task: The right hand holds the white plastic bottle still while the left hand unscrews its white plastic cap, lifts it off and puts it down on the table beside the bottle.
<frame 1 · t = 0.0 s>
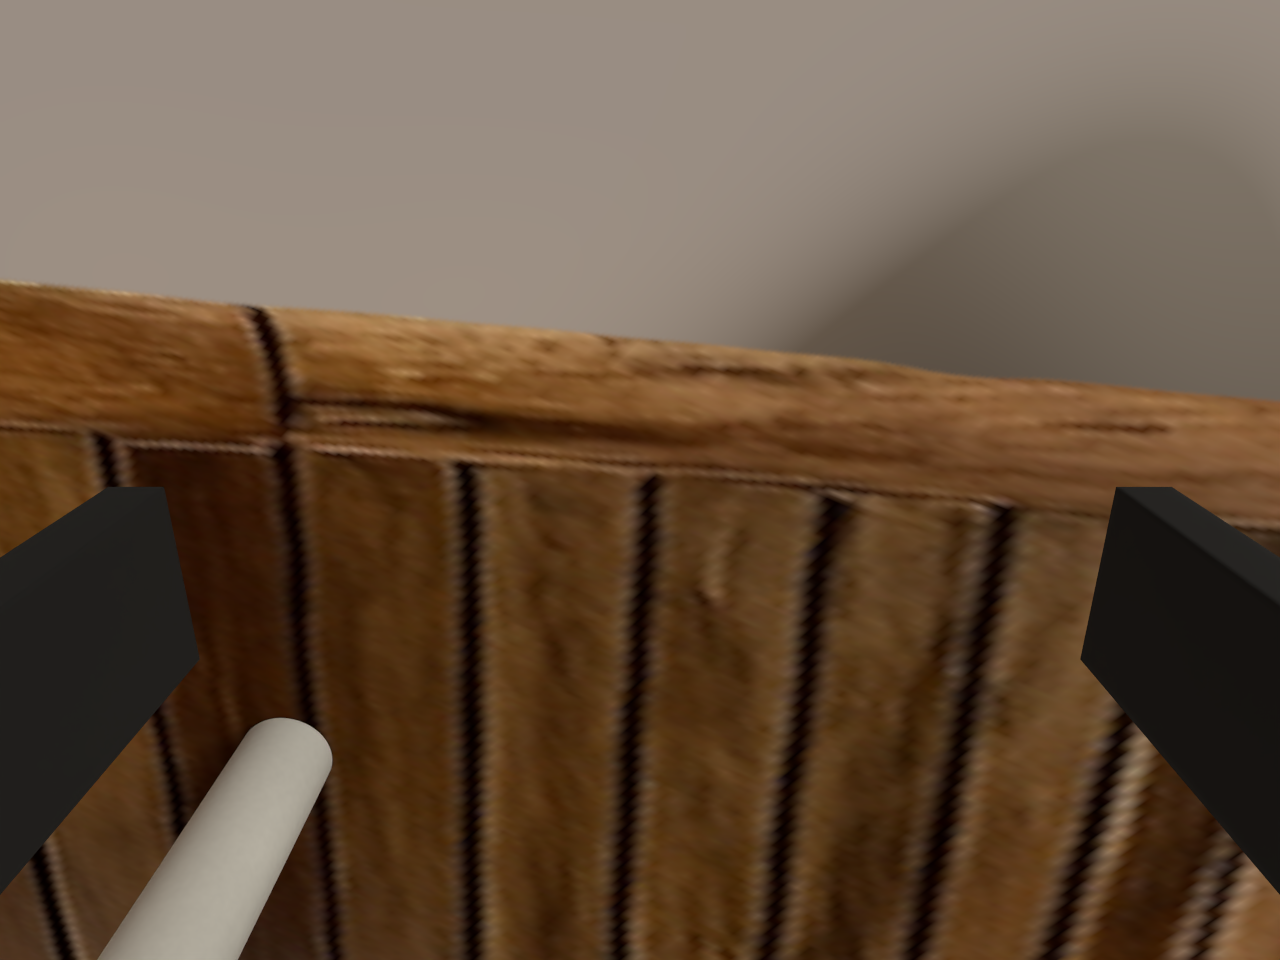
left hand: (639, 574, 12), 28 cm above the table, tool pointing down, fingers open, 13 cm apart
bottle: (287, 754, 48), on the table
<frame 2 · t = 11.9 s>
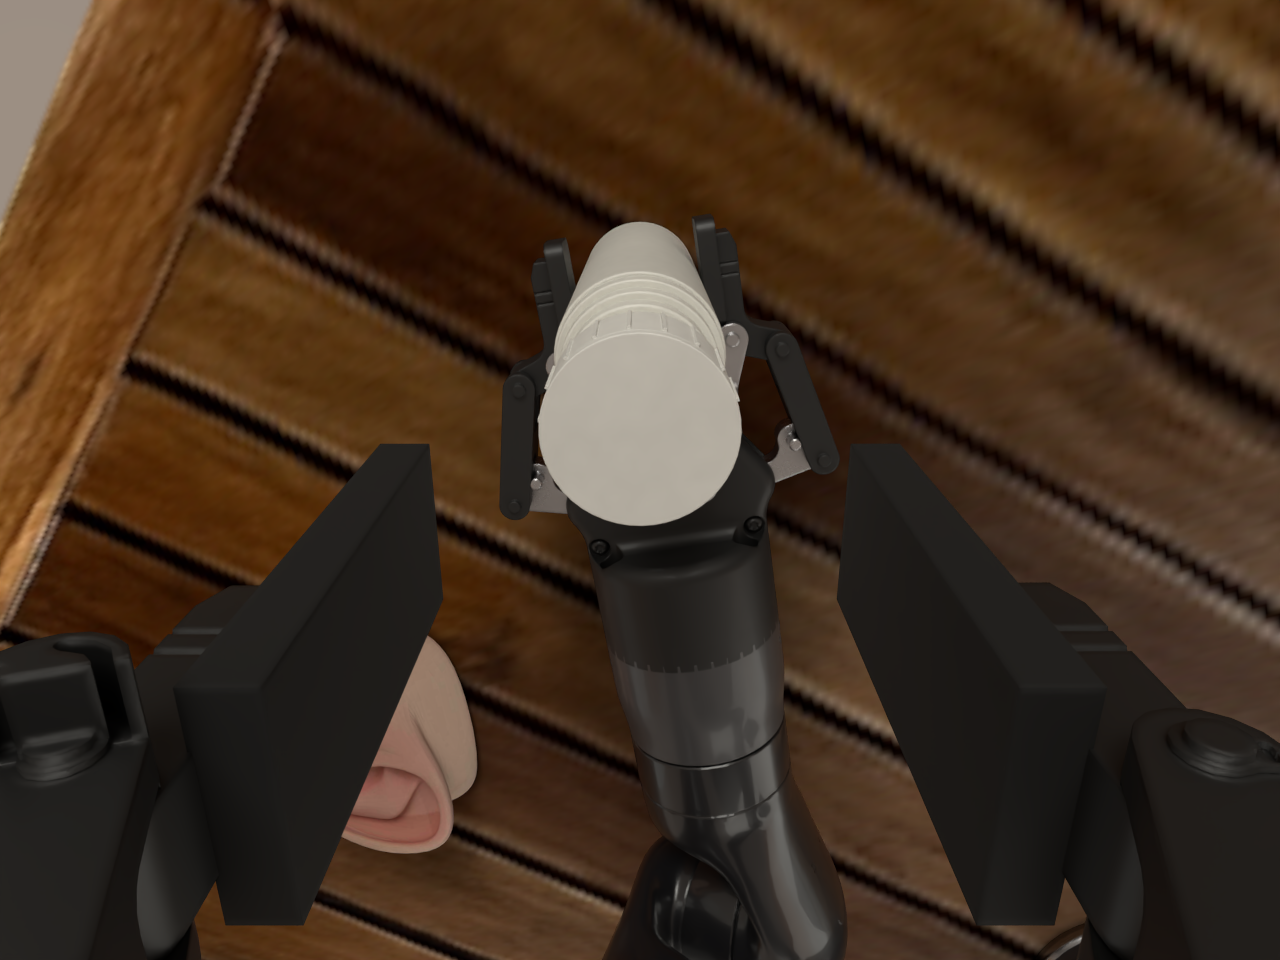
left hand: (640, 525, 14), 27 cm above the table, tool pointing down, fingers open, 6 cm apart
right hand: (627, 231, 32), fingers closed on bottle, 5 cm apart
cap: (640, 429, 19), point 22 cm above the table, screwed on, not yet turned
anatomical model: (367, 707, 47), on the table
bottle: (639, 278, 39), on the table, touching right hand
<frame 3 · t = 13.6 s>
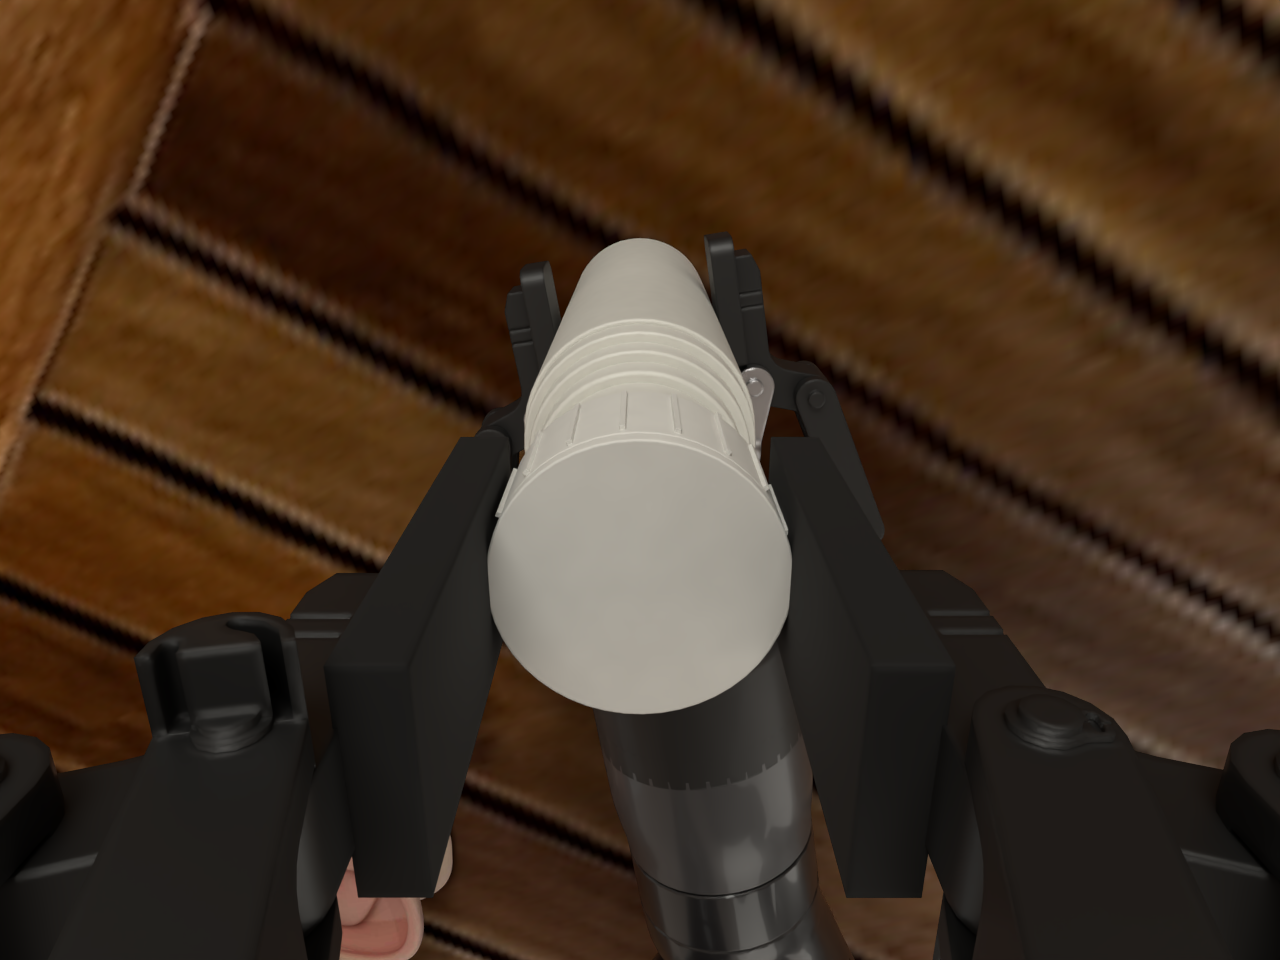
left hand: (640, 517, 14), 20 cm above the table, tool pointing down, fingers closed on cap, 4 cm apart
cap: (639, 575, 12), point 22 cm above the table, screwed on, not yet turned, touching left hand
anatomical model: (326, 794, 41), on the table
bottle: (640, 305, 33), on the table, touching right hand
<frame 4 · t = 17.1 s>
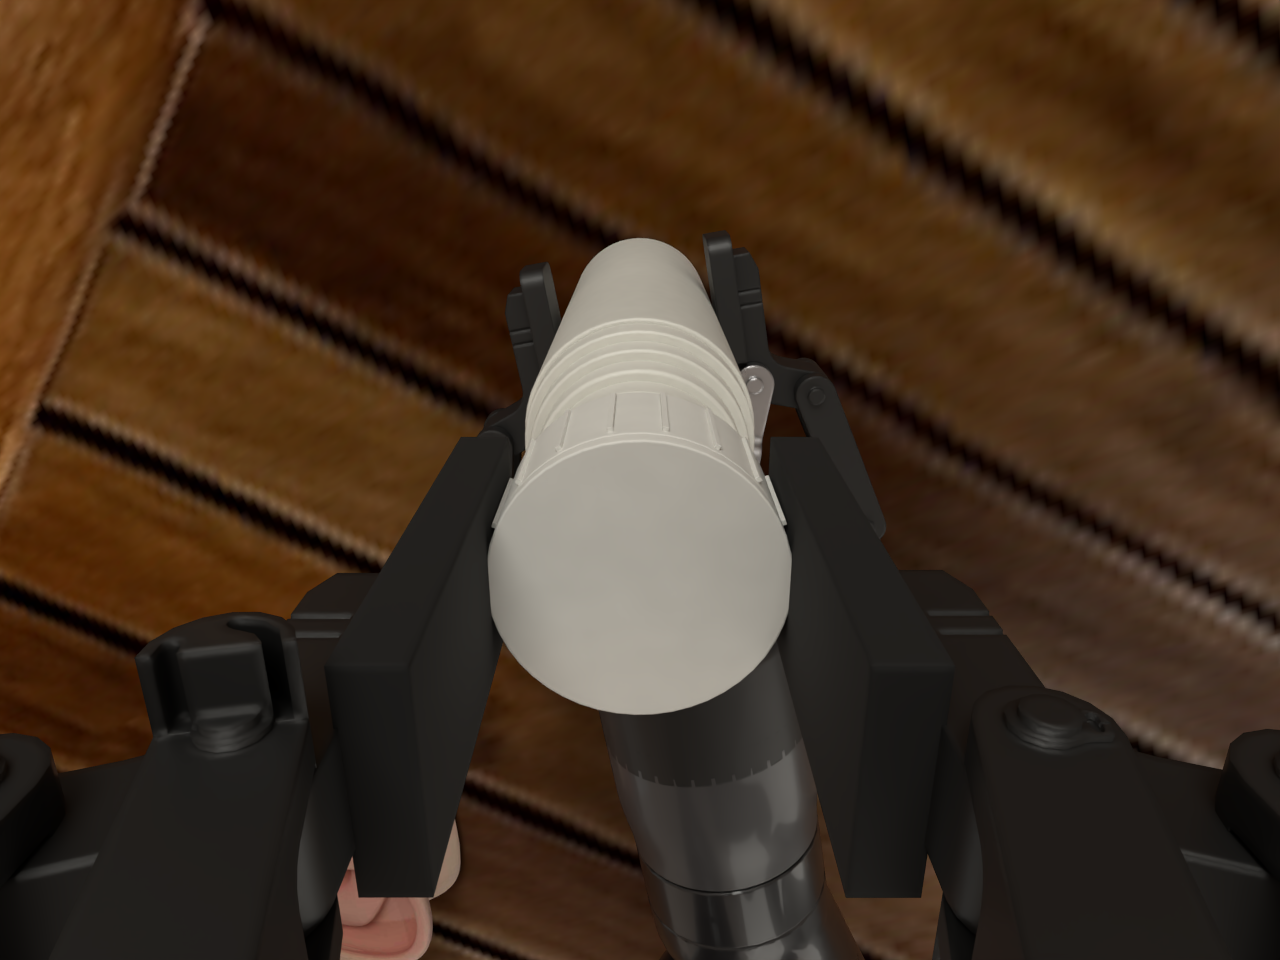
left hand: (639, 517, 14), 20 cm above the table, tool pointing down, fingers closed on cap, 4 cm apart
cap: (639, 576, 12), point 22 cm above the table, turned 124° so far, risen 0.1 cm, still on its thread, touching left hand
anatomical model: (333, 795, 41), on the table
bottle: (640, 304, 33), on the table, touching right hand
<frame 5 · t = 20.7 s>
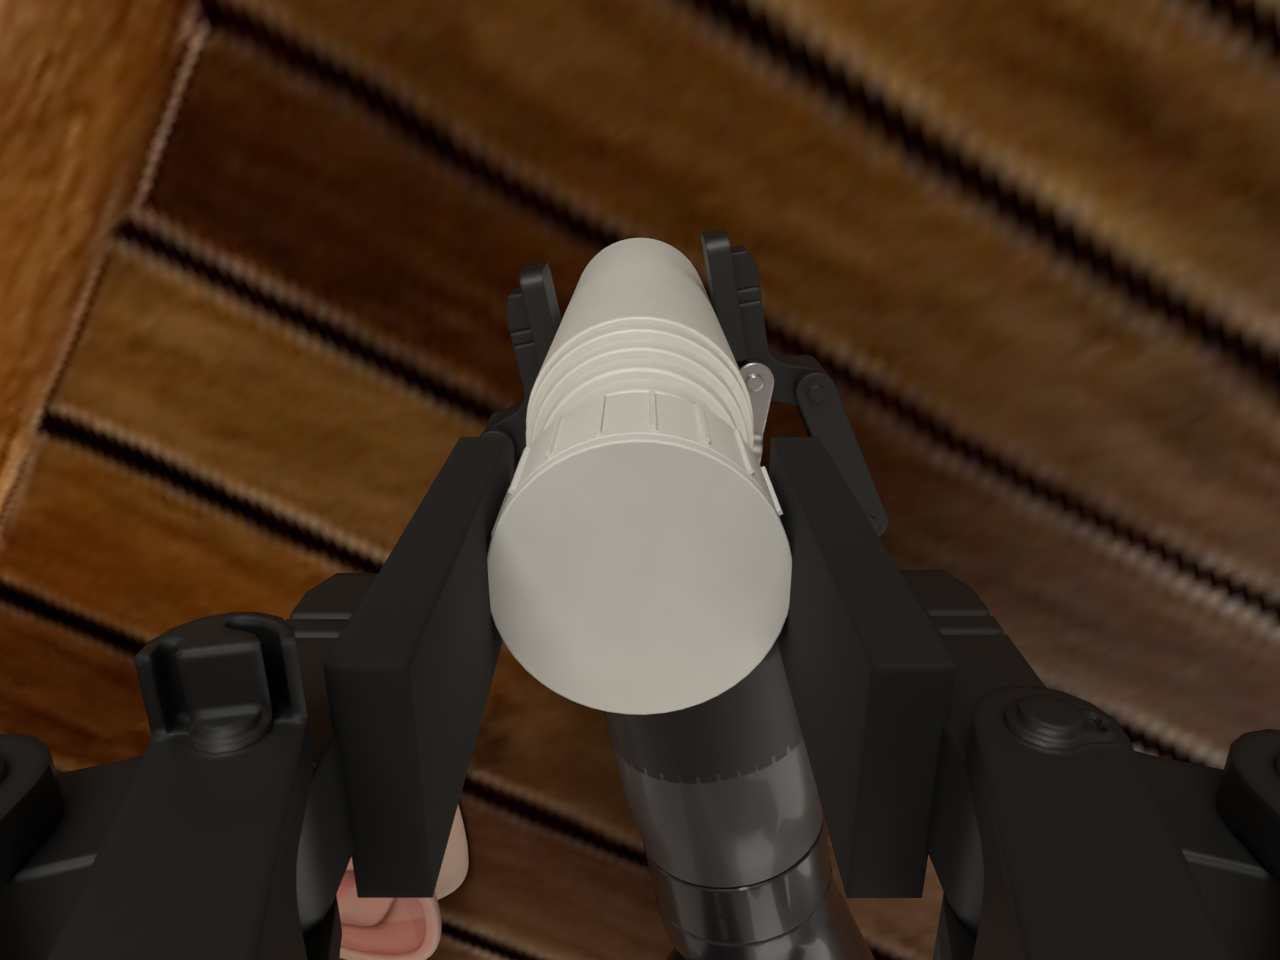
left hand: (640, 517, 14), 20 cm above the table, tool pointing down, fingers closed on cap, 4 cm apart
cap: (639, 576, 12), point 22 cm above the table, turned 247° so far, risen 0.3 cm, still on its thread, touching left hand
anatomical model: (341, 797, 41), on the table
bottle: (640, 304, 33), on the table, touching right hand
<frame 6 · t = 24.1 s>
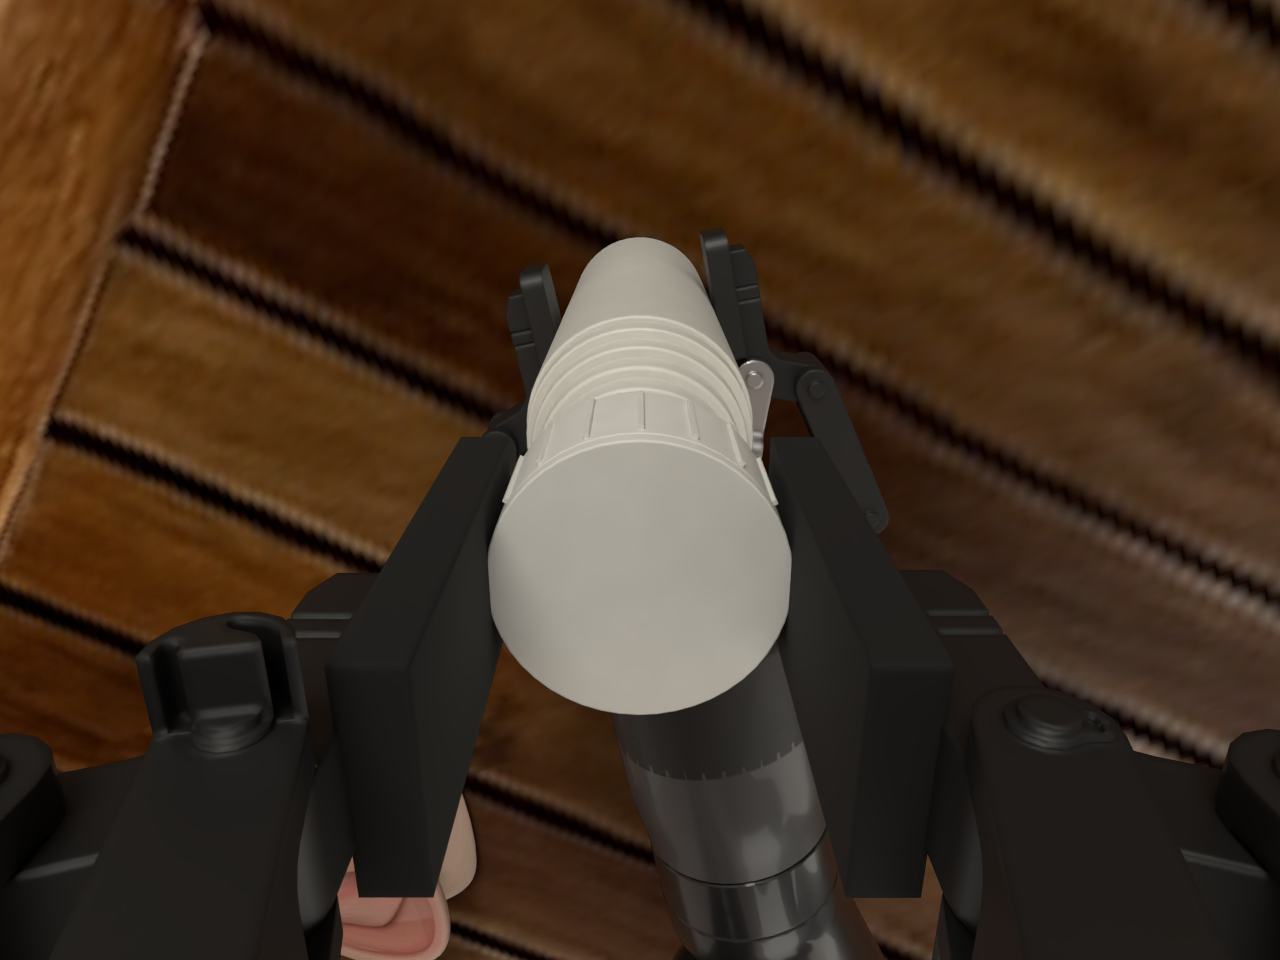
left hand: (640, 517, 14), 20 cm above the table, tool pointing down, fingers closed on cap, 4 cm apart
cap: (639, 576, 12), point 22 cm above the table, turned 371° so far, risen 0.4 cm, still on its thread, touching left hand
anatomical model: (349, 798, 41), on the table
bottle: (640, 303, 33), on the table, touching right hand
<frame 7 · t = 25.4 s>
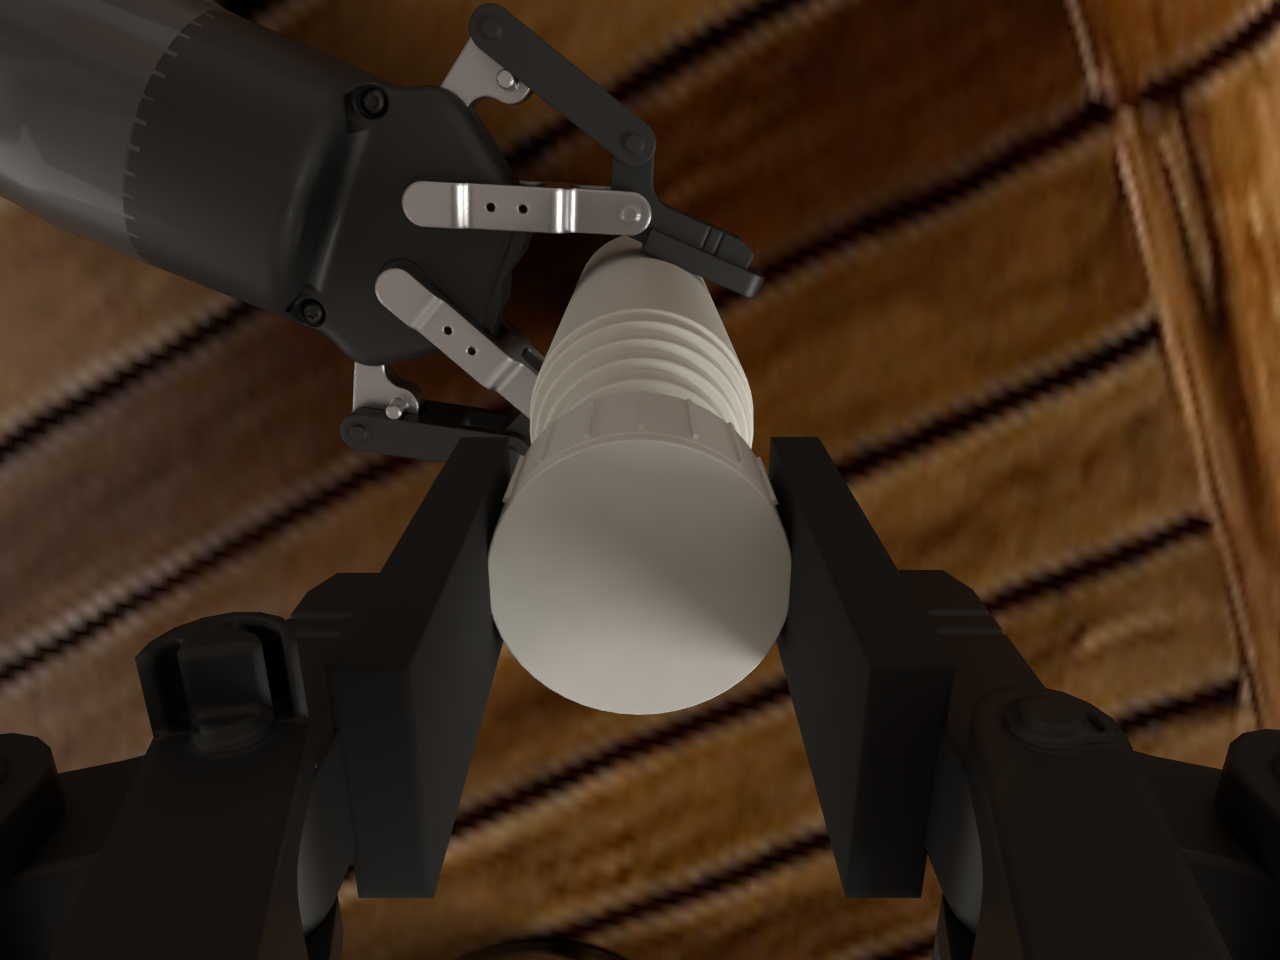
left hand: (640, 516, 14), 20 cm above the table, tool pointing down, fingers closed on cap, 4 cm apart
right hand: (717, 363, 28), fingers closed on bottle, 5 cm apart
cap: (639, 576, 12), point 22 cm above the table, off its thread, touching left hand
bottle: (641, 298, 33), on the table, touching right hand
when the left hand's fingers open (1 cm above the table, at t = 32.0 s): cap stays where it is, point 2 cm above the table.
when the right hand's fingers open (6 cm above the table, at t = 33.3 s): bottle stays where it is, on the table.
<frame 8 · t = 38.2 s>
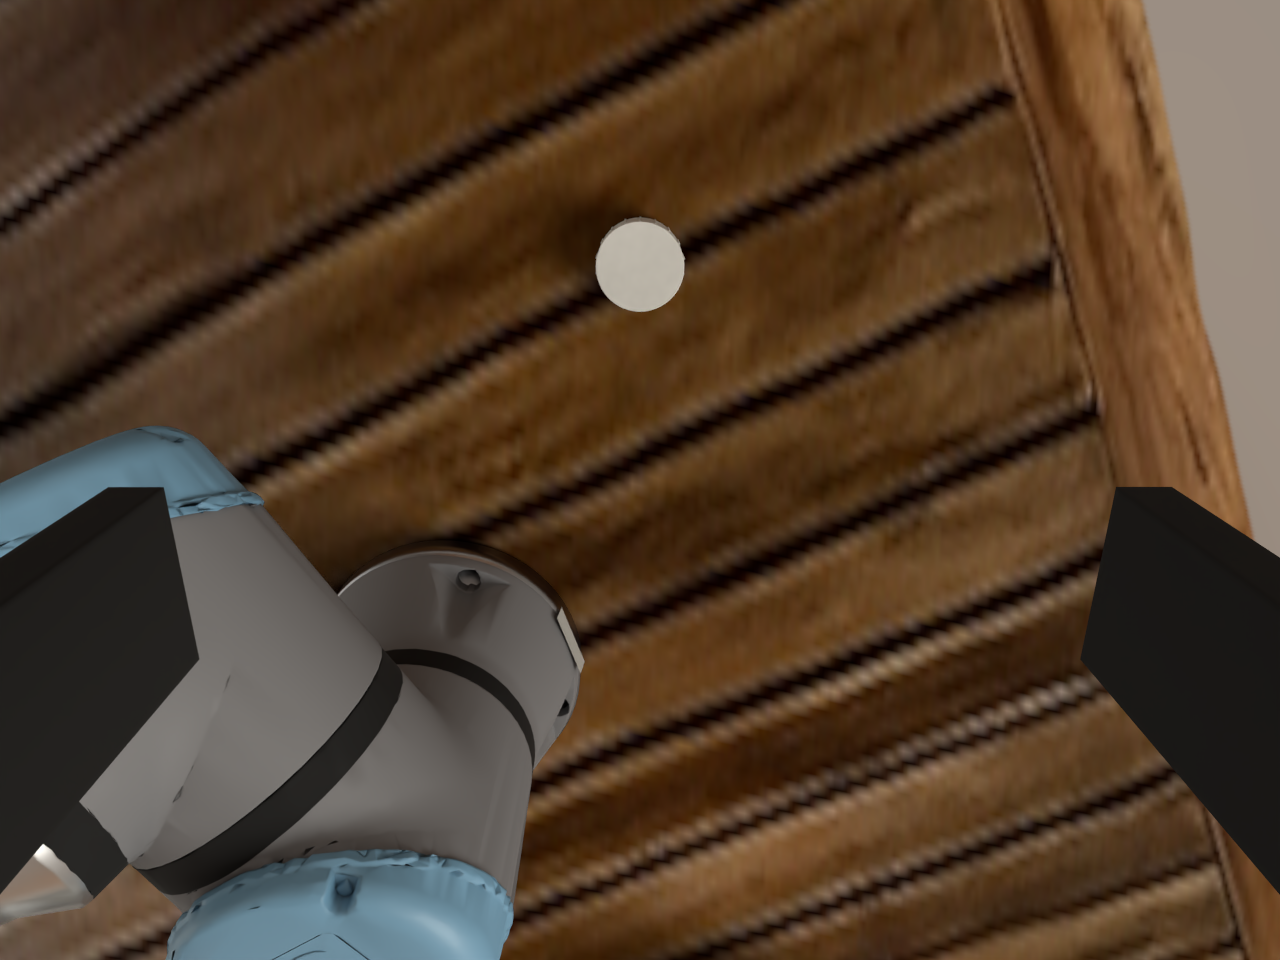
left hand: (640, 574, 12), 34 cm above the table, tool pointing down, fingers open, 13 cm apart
cap: (639, 266, 43), point 2 cm above the table, off its thread
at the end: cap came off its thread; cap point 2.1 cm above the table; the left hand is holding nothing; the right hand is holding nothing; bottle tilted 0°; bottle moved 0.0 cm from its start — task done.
